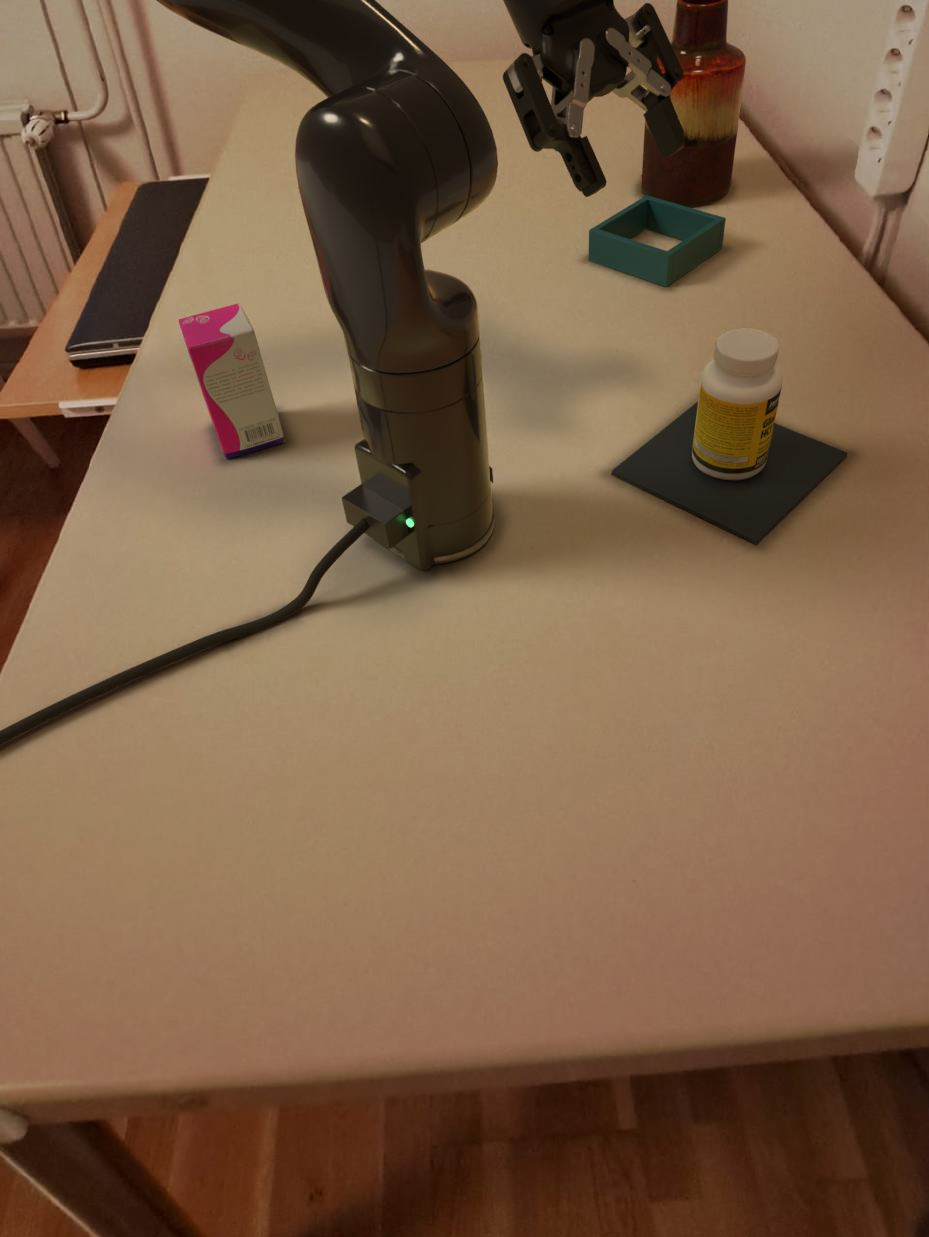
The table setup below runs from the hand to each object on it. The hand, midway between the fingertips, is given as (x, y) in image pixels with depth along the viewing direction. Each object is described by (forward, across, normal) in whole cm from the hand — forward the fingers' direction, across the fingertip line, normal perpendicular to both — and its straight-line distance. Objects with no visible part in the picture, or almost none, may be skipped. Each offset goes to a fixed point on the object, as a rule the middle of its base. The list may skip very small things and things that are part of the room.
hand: (636, 171), depth 72 cm
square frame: (+6, -22, -26) cm, 35 cm away
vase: (+1, -37, -34) cm, 50 cm away
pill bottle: (+24, +1, -2) cm, 24 cm away
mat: (+24, +1, -2) cm, 24 cm away
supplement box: (+3, +29, -29) cm, 41 cm away
